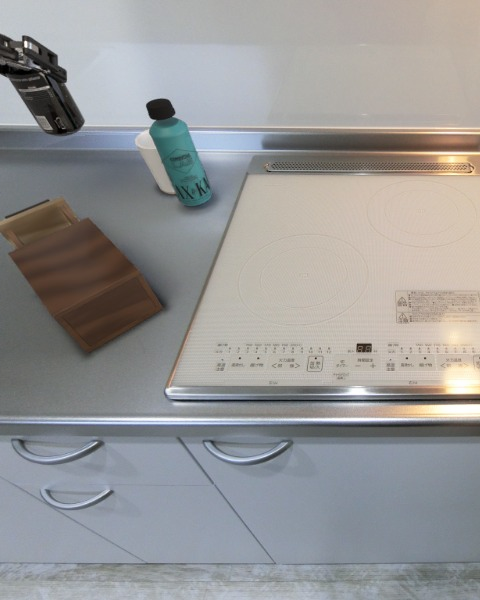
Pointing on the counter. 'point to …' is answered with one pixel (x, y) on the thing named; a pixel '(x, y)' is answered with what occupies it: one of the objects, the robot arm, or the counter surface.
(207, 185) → the beverage bottle
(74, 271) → the cabinet
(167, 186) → the mug
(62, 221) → the drawer
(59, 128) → the beverage can
